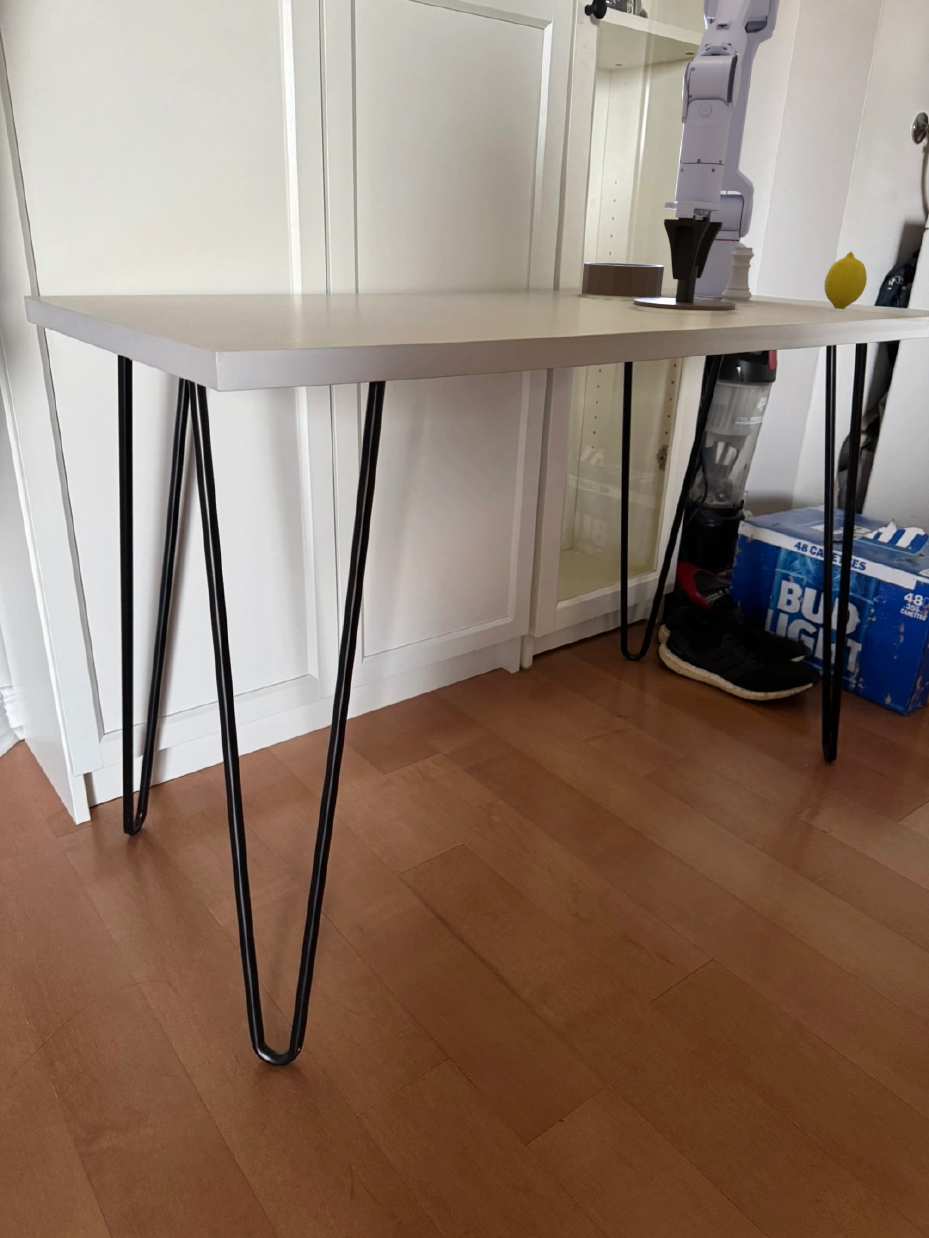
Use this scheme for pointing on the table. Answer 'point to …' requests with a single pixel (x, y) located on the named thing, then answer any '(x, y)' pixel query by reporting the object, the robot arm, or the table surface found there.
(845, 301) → the fruit
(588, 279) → the tin
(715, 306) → the tin lid
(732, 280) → the rook chess piece
